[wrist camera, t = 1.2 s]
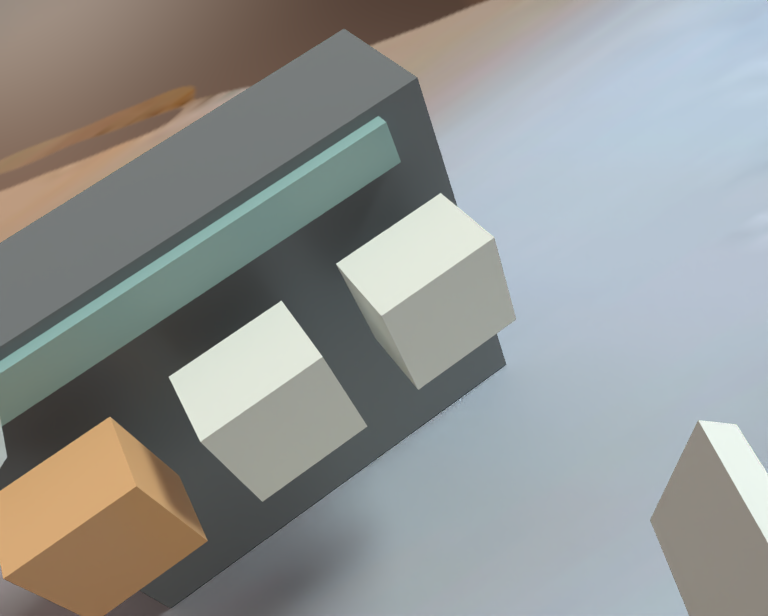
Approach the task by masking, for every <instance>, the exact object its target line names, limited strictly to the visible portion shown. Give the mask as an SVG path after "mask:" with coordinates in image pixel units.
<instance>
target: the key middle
mask: <svg viewBox="0 0 768 616" xmlns="http://www.w3.org/2000/svg"><path fill="white" fill-rule="evenodd" d="M169 379H170V381H171V383H172V385H173V387H174V389H175V391H176V393H177V395H178V397H179V399H180V401H181V403H182V405H183V407H184V409H185V412H186V414H187V416H188V418H189V420H190V422H191V424H192V426H193V428H194V430H195V432H196V434H197V436H198V438H199V440H200V442H201V443H202V444H203V445H204V446H205V447H206V448H207V449H208V450H209V451H210V452H211V453H212V454H213V455H214V456H215V457H216V458H218V459H219V460H220V461H221V462H222V463H223V464H224V465H225V466H226V467H227V468H228V469H229V470H230V471H231V472H232V473H233V474H234V475H235V476H236V477H237V478H238V479H239V480H240V481H241V482H242V483H243V484H244V485H245V486H247V487H248V488H249V489H250V490H251V491H252V492H253V493H254V494H255V495H256V496H257V497H258V498H259V499H260V500H261V501H262V502H263V501H264V500H266V499H267V498H268V497H270V496H271V495H273V494H274V493H275V492H277V491H278V490H280V489H281V488H282V487H284V486H285V485H287V484H288V483H289V482H291V481H292V480H293V479H295V478H296V477H298V476H299V475H300V474H302V473H303V472H305V471H306V470H307V469H309V468H310V467H312V466H313V465H314V464H316V463H317V462H319V461H320V460H321V459H323V458H324V457H326V456H327V455H328V454H330V453H331V452H332V451H334V450H335V449H337V448H338V447H339V446H341V445H342V444H344V443H345V442H346V441H348V440H349V439H351V438H352V437H353V436H355V435H356V434H358V433H359V432H360V431H362V430H363V429H364V428H366V427H367V425H366V423H365V422H364V420H363V418H362V417H361V415H360V414H359V412H358V411H357V409H356V408H355V406H354V405H353V403H352V401H351V400H350V398H349V397H348V395H347V394H346V392H345V391H344V389H343V387H342V386H341V384H340V383H339V381H338V380H337V378H336V377H335V375H334V374H333V372H332V370H331V369H330V367H329V366H328V364H327V363H326V361H325V360H324V358H323V357H322V355H321V354H320V352H319V351H318V350H317V348H316V347H315V346H314V344H313V343H312V342H311V340H310V339H309V337H308V336H307V335H306V333H305V332H304V331H303V329H302V328H301V327H300V325H299V324H298V322H297V321H296V320H295V318H294V317H293V316H292V314H291V313H290V311H289V310H288V309H287V307H286V306H285V305H284V303H283V302H282V301H280V302H279V303H277V304H276V305H274V306H273V307H271V308H270V309H268V310H267V311H265V312H264V313H262V314H261V315H259V316H258V317H257V318H255V319H254V320H252V321H251V322H249V323H248V324H246V325H245V326H243V327H242V328H240V329H239V330H237V331H236V332H234V333H233V334H231V335H230V336H228V337H227V338H225V339H224V340H223V341H221V342H220V343H218V344H217V345H215V346H214V347H212V348H211V349H209V350H208V351H206V352H205V353H203V354H202V355H200V356H199V357H197V358H196V359H194V360H193V361H191V362H190V363H188V364H187V365H186V366H184V367H183V368H181V369H180V370H178V371H177V372H175V373H174V374H172V375H171V376H169Z"/></svg>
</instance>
